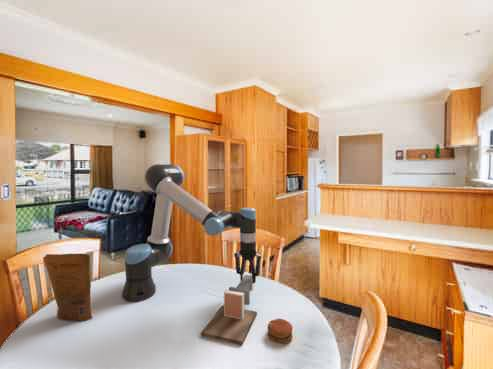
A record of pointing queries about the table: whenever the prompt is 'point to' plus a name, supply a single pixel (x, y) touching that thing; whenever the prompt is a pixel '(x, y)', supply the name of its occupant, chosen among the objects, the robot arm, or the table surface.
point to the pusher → (244, 288)
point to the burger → (280, 331)
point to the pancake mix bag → (70, 285)
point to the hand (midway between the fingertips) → (248, 288)
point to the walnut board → (229, 327)
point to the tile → (234, 304)
